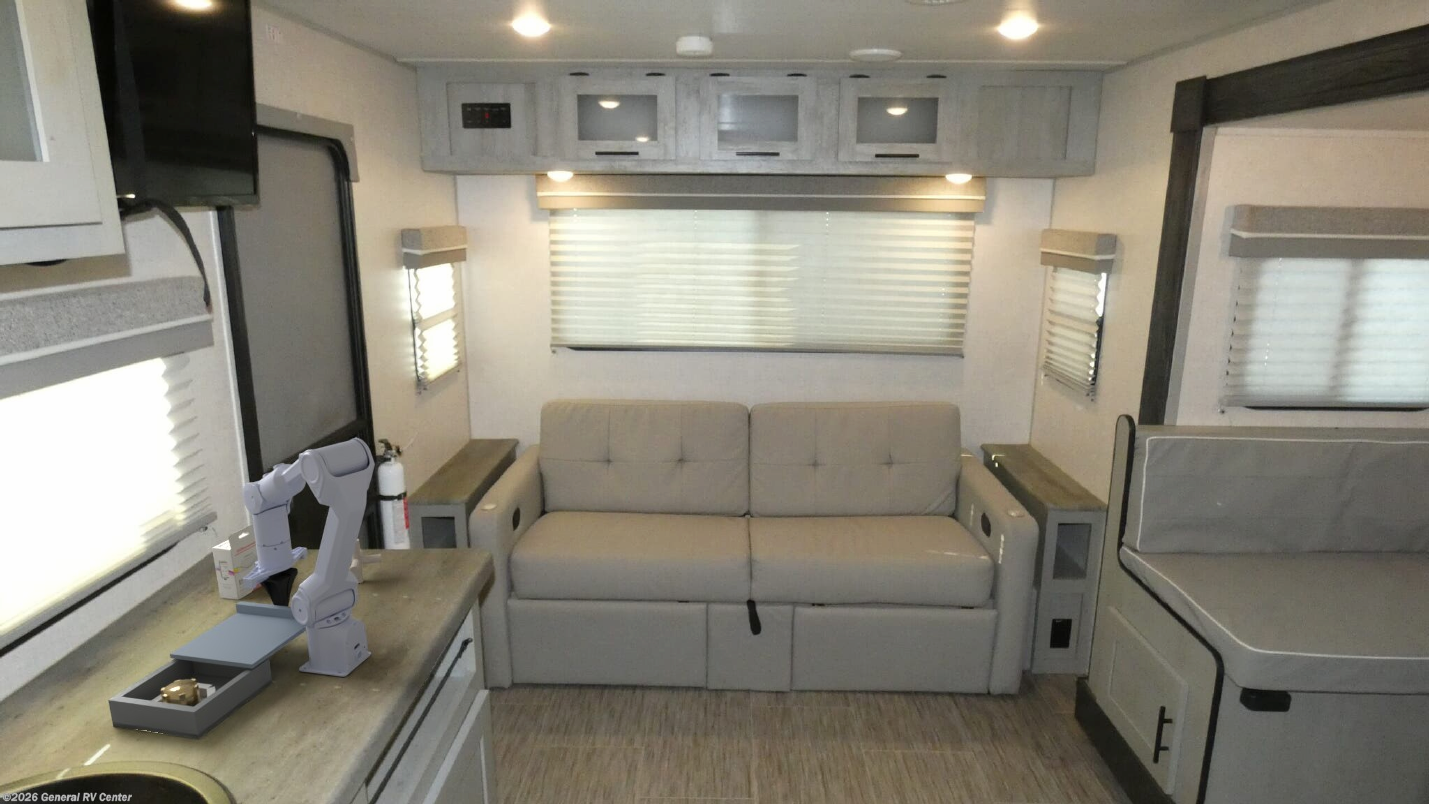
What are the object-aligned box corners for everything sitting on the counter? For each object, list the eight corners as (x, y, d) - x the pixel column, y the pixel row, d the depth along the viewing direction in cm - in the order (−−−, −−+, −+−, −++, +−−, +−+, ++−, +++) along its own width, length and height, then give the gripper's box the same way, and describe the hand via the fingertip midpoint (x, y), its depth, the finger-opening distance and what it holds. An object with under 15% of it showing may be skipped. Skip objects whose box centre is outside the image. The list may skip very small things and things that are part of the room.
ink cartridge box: (248, 581, 181) (239, 519, 178) (267, 583, 180) (259, 521, 177) (218, 598, 173) (208, 534, 170) (238, 600, 172) (229, 536, 169)
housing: (272, 683, 142) (269, 658, 141) (198, 739, 126) (194, 712, 125) (194, 672, 145) (190, 648, 144) (113, 726, 129) (108, 700, 128)
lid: (317, 622, 152) (315, 609, 152) (252, 668, 137) (250, 654, 136) (242, 613, 155) (240, 601, 155) (170, 658, 140) (168, 644, 139)
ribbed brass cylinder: (203, 710, 132) (200, 688, 132) (167, 722, 129) (163, 699, 128) (197, 696, 136) (194, 674, 136) (162, 707, 133) (158, 685, 132)
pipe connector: (337, 575, 184) (333, 534, 182) (384, 570, 187) (380, 529, 185) (331, 594, 175) (326, 551, 172) (380, 588, 178) (376, 546, 175)
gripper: (282, 524, 159) (290, 588, 162) (224, 554, 145) (234, 623, 148) (313, 527, 158) (321, 591, 161) (258, 557, 144) (267, 627, 147)
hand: (281, 607), depth 154 cm, fingers closed
